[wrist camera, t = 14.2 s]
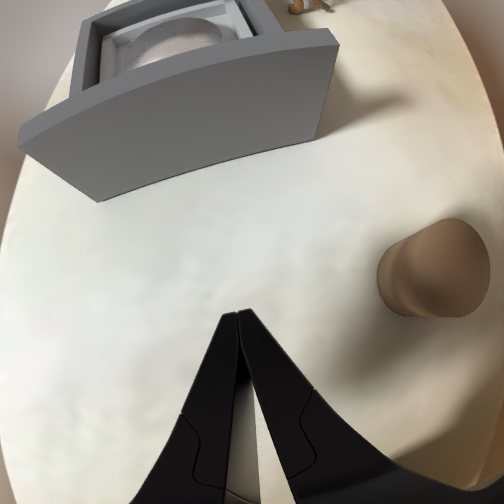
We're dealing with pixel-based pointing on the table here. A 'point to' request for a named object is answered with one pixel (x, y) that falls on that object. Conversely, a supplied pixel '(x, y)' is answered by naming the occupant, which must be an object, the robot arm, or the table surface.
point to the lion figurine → (299, 6)
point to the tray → (185, 105)
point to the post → (436, 271)
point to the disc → (170, 41)
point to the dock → (137, 10)
